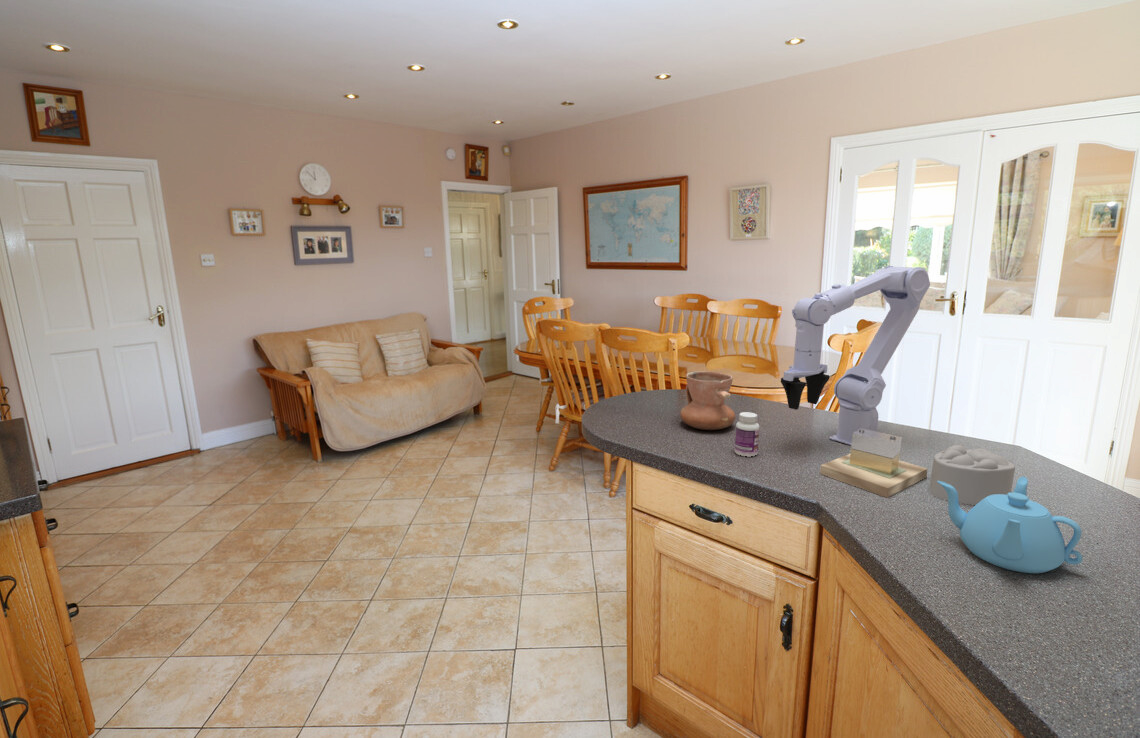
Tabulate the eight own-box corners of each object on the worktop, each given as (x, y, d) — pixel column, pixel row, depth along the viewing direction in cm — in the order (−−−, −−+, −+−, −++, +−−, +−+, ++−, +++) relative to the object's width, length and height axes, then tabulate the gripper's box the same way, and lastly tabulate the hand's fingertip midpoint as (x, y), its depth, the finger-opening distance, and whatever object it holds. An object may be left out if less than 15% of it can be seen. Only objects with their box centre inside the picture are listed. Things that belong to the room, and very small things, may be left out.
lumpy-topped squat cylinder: (1018, 503, 103) (1026, 460, 101) (954, 508, 102) (961, 464, 100) (973, 480, 113) (980, 441, 111) (914, 484, 112) (920, 444, 110)
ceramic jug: (749, 432, 144) (751, 379, 141) (701, 438, 139) (703, 384, 137) (709, 414, 161) (711, 366, 158) (666, 419, 156) (667, 370, 153)
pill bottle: (759, 458, 127) (762, 418, 124) (735, 456, 128) (737, 417, 125) (756, 449, 132) (758, 411, 130) (733, 448, 133) (735, 410, 131)
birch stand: (860, 457, 126) (861, 448, 126) (926, 477, 115) (927, 467, 114) (820, 473, 117) (820, 464, 117) (886, 497, 106) (888, 487, 106)
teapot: (1097, 581, 79) (1112, 517, 77) (997, 585, 79) (1008, 520, 77) (1013, 530, 94) (1024, 474, 91) (928, 533, 93) (936, 477, 91)
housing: (898, 468, 114) (902, 435, 113) (890, 474, 111) (894, 441, 110) (857, 458, 120) (860, 426, 118) (849, 463, 117) (852, 431, 115)
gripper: (810, 344, 135) (805, 397, 138) (773, 350, 127) (769, 406, 130) (837, 348, 129) (832, 403, 132) (801, 355, 121) (796, 414, 124)
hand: (802, 405), depth 131 cm, fingers open, 7 cm apart
